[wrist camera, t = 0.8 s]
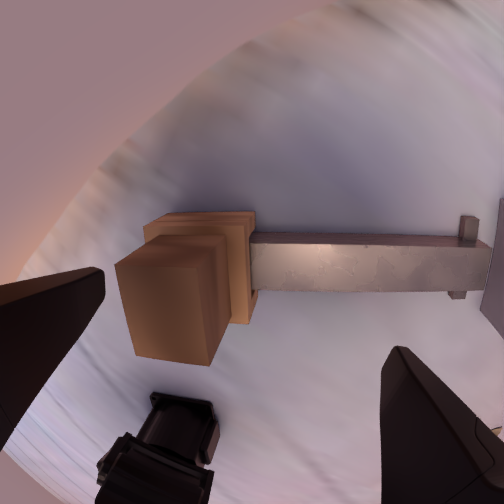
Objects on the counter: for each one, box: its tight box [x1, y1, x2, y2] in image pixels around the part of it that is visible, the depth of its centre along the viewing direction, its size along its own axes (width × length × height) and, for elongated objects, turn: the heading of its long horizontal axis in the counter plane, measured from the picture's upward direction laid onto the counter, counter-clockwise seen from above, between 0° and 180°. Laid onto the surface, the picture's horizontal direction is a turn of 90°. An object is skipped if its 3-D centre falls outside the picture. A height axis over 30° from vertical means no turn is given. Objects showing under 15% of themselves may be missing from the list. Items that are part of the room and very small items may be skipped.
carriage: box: [115, 212, 258, 366], centre depth 17 cm, size 6×6×8 cm
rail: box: [249, 216, 492, 299], centre depth 19 cm, size 22×6×2 cm, turn 92°
